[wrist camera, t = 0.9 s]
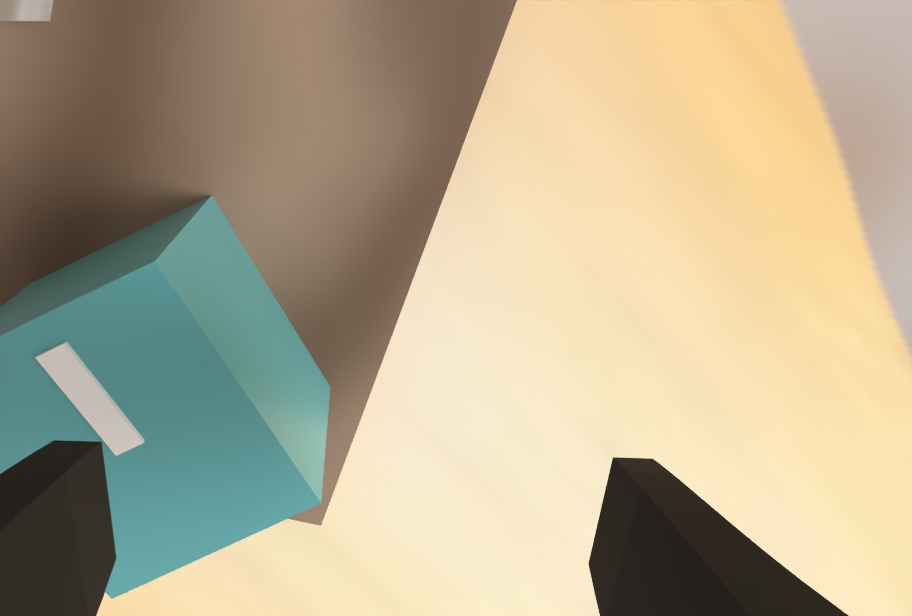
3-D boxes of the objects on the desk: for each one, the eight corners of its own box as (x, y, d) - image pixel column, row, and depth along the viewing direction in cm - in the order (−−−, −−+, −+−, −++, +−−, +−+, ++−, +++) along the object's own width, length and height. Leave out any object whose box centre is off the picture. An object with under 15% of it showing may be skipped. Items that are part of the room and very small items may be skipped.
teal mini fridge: (171, 461, 19) (109, 602, 14) (31, 282, 17) (-96, 382, 12) (330, 386, 19) (321, 506, 14) (211, 194, 16) (153, 262, 12)
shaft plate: (-370, 349, 17) (-579, 443, 13) (-399, -420, 12) (-747, -625, 8) (323, 500, 22) (314, 602, 18) (513, -17, 17) (559, -28, 13)
